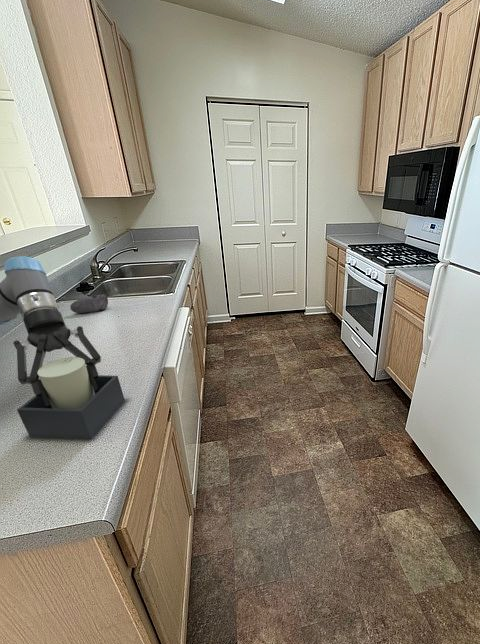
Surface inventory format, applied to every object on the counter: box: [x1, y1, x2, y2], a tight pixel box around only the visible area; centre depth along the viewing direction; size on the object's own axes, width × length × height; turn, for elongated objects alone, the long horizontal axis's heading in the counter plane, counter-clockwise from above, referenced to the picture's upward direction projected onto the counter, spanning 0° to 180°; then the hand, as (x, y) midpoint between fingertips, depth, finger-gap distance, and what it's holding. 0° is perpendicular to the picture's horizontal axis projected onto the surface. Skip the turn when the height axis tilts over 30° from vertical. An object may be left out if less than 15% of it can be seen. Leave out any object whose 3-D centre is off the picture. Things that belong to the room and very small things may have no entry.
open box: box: [16, 374, 126, 440], centre depth 80 cm, size 15×15×8 cm
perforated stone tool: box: [70, 293, 109, 314], centre depth 148 cm, size 15×5×7 cm, turn 119°
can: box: [37, 356, 95, 409], centre depth 78 cm, size 9×9×12 cm
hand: (73, 398), depth 76 cm, fingers closed on can, 9 cm apart
